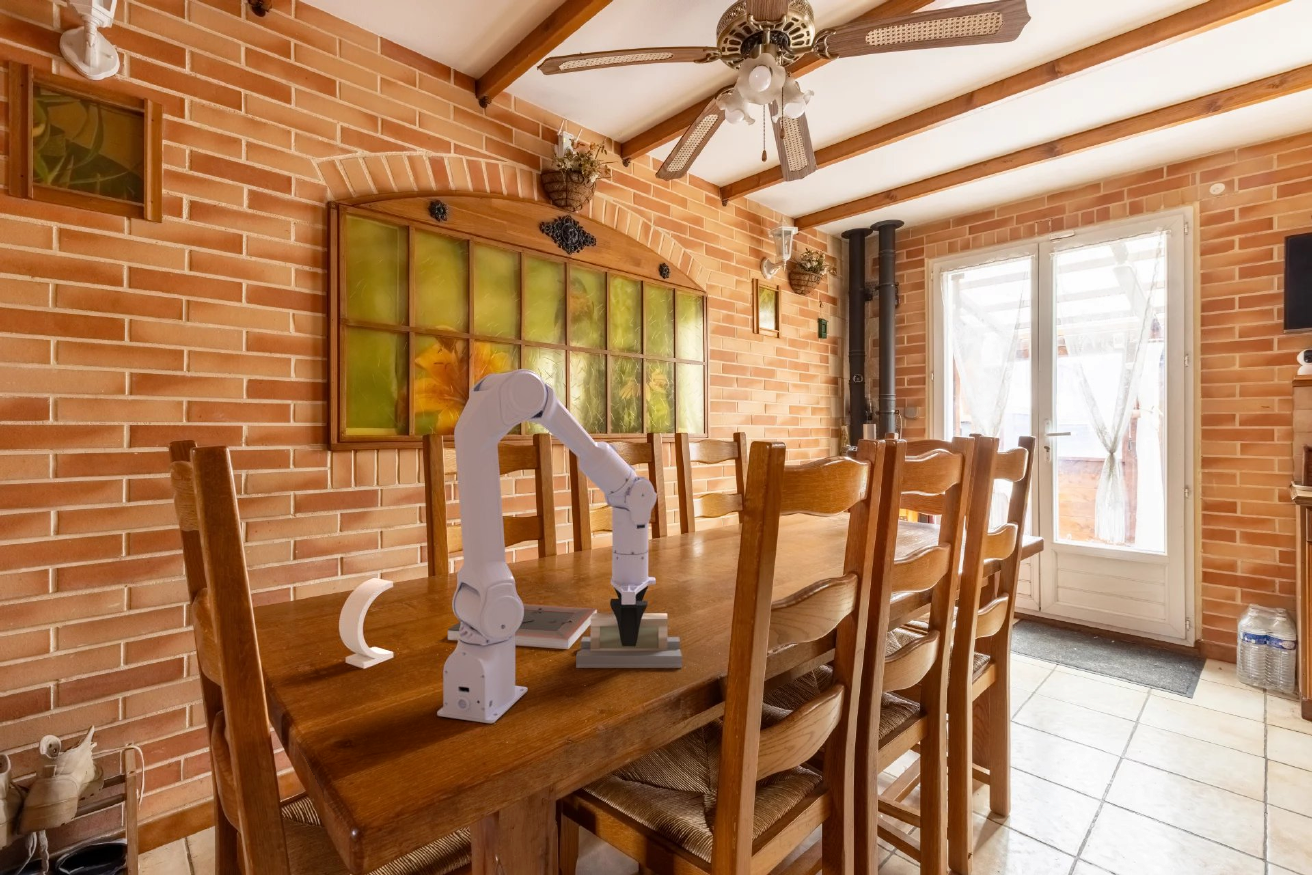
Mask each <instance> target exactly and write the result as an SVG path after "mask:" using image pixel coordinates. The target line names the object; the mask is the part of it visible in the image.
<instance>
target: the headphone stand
mask: <svg viewBox="0 0 1312 875" xmlns="http://www.w3.org/2000/svg"><path fill="white" fill-rule="evenodd" d="M391 588H394V581H391V580H387V579H381V578H377V577H373V578H371V579H369V580H366V581H364V582H361V584H359V585H358V586H357V587H356V588H354V590H353V591H352V592H351V593H350V594H349V596H348V597H347V599H346V600H345V602H344V604H343V607H342V609H341V611H340V615H339V620H338V621H339V622H338V631H339V636H340V638H341V641H342V642H343V644H344V646H346V647H347V649H348V650H350V651H351V652H353V653H354V654H351V655H348V656H346V657H345V663H347V664H349V665H351V666H355V667H358V668H360V669H363V670H364V669H368V668H370V667H372V666H375V665H377V664H379V663H382V662H385V661H388V660H390V659H392V658H394V652H393V651H392V650H391V651H390V650H387V649H384V648H380V647H377V646H372V647H369V645H368V644H367V643H366V640H365V637H364V630H363V629H364V628H363V627H364V621H365V617H366V614H367V611H368V610H369V607H370V606H371V604H372V603H373V602H374V601H375V599H376V598H377V597H378V596H380V595H381V594H382V593H383V592H385V591H387V590H389V589H391Z"/></svg>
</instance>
